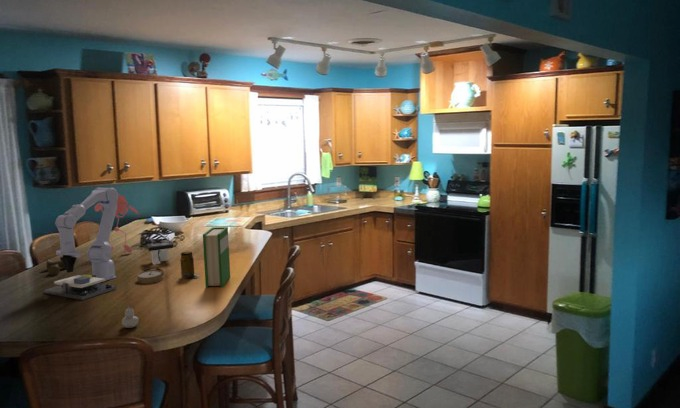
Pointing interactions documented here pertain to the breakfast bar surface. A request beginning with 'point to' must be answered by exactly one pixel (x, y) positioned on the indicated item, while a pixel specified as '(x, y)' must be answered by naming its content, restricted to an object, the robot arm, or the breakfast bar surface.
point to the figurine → (120, 209)
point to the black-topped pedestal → (159, 251)
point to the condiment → (187, 266)
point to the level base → (80, 290)
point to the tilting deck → (71, 281)
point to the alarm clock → (150, 276)
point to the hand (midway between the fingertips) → (70, 271)
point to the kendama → (54, 266)
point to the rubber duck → (129, 318)
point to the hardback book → (216, 256)
